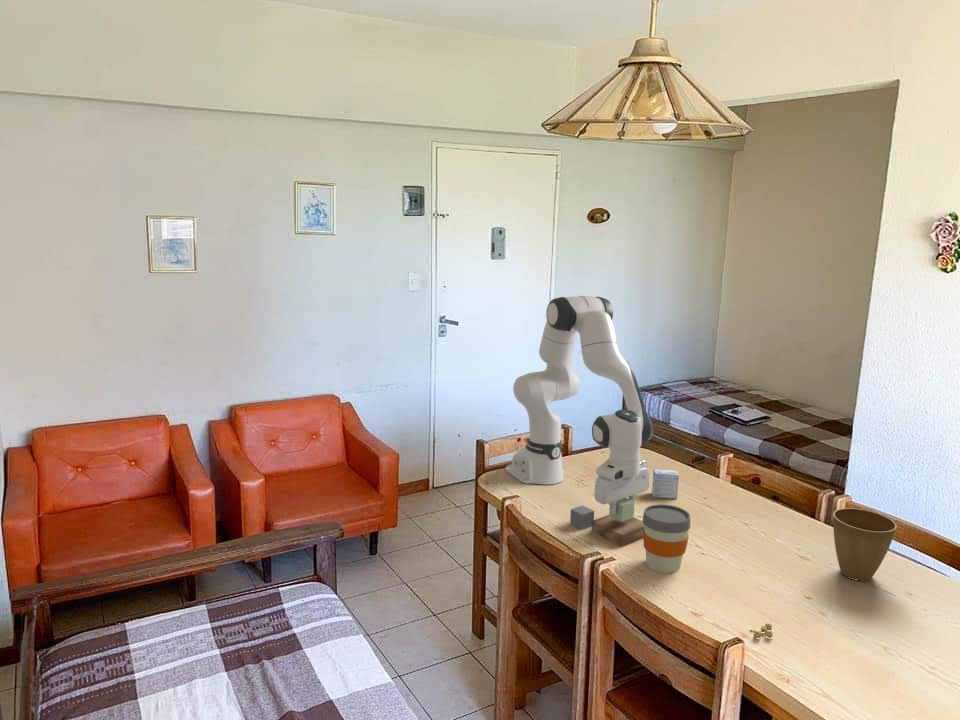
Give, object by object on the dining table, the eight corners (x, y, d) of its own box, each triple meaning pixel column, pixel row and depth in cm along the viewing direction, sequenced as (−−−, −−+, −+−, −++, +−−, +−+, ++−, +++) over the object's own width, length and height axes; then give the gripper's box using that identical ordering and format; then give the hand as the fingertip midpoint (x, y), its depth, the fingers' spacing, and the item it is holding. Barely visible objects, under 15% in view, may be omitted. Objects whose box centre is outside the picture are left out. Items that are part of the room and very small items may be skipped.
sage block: (609, 515, 219) (610, 499, 218) (620, 511, 222) (621, 496, 221) (621, 521, 215) (622, 505, 214) (633, 517, 218) (634, 501, 217)
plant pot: (864, 594, 187) (872, 535, 184) (814, 568, 200) (820, 513, 197) (900, 581, 194) (909, 524, 191) (850, 557, 207) (857, 503, 204)
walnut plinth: (591, 533, 221) (591, 520, 220) (618, 523, 228) (619, 510, 227) (621, 548, 211) (622, 535, 210) (649, 537, 218) (650, 524, 218)
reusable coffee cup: (688, 558, 205) (692, 508, 202) (685, 579, 193) (689, 526, 190) (642, 551, 209) (646, 501, 206) (636, 571, 197) (640, 519, 194)
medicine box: (675, 494, 250) (677, 470, 248) (677, 499, 246) (679, 474, 244) (651, 493, 251) (653, 468, 249) (653, 498, 246) (655, 473, 245)
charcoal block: (570, 524, 225) (570, 509, 224) (581, 520, 228) (582, 505, 227) (581, 530, 222) (582, 514, 220) (593, 526, 225) (594, 510, 224)
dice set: (770, 630, 172) (770, 623, 171) (776, 643, 167) (777, 635, 166) (747, 629, 172) (748, 621, 172) (753, 642, 167) (754, 634, 167)
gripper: (639, 456, 224) (636, 499, 227) (592, 470, 211) (589, 515, 214) (656, 462, 219) (653, 505, 222) (608, 476, 207) (605, 522, 209)
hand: (621, 510), depth 218 cm, fingers closed on sage block, 5 cm apart
